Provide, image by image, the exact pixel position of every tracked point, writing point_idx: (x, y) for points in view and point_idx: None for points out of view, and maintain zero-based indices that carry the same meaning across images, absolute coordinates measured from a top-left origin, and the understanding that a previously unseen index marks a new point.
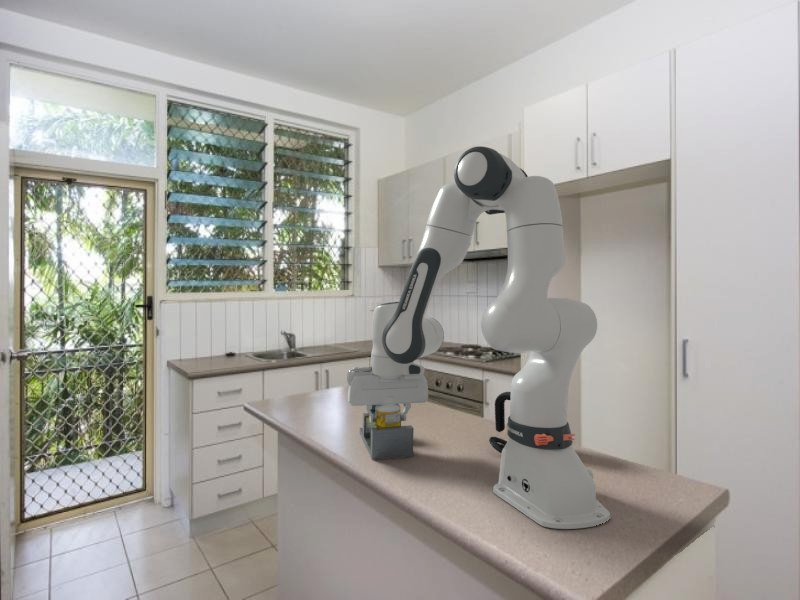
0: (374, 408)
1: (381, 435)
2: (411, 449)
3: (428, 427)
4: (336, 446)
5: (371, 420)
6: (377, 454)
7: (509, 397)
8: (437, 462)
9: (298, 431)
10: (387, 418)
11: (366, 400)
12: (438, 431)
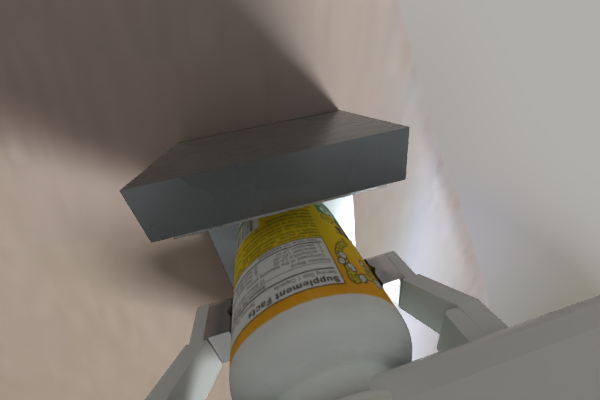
0: None
1: (339, 132)
2: (178, 149)
3: (160, 377)
4: (423, 220)
5: (395, 257)
6: (326, 115)
7: None
8: (37, 71)
9: (477, 293)
10: (320, 258)
11: (590, 363)
12: (120, 361)
